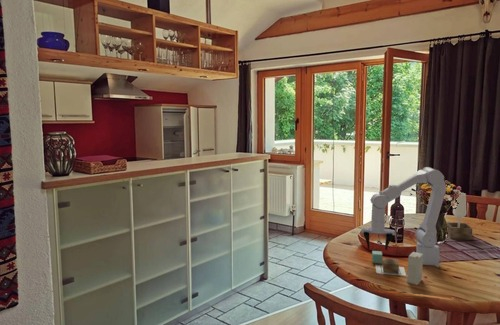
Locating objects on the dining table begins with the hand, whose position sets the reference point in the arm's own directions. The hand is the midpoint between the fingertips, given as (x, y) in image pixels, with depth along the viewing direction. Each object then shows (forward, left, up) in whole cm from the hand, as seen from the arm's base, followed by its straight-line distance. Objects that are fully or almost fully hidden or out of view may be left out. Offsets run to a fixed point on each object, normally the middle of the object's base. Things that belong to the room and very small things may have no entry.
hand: (377, 248), depth 175 cm
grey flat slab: (-5, +9, -7) cm, 12 cm away
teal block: (0, 0, -7) cm, 7 cm away
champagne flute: (-46, -49, -7) cm, 68 cm away
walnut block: (-5, +9, -6) cm, 12 cm away
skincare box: (-14, +18, -7) cm, 24 cm away
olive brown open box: (-46, -49, -7) cm, 68 cm away
